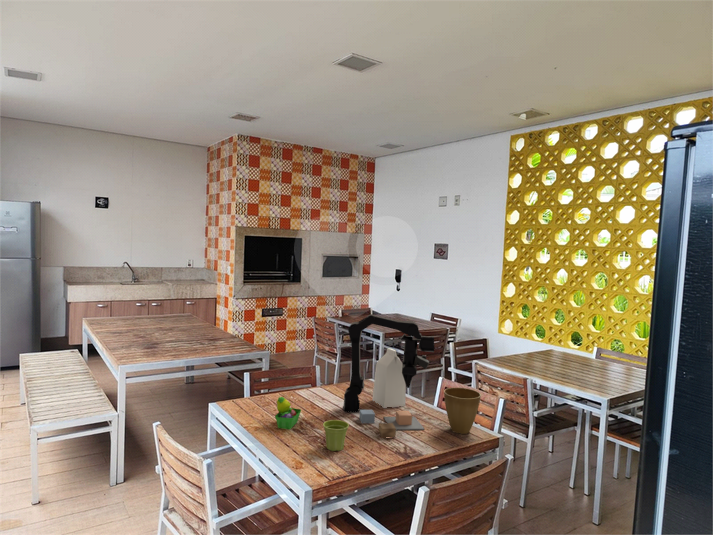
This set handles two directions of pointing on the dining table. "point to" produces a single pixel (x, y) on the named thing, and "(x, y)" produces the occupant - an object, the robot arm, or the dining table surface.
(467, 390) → the plant pot
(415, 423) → the tower base
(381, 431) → the walnut block
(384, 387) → the milk
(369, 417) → the slate block
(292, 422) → the fruit basket
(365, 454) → the dining table surface
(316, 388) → the dining table surface
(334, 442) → the plant pot
